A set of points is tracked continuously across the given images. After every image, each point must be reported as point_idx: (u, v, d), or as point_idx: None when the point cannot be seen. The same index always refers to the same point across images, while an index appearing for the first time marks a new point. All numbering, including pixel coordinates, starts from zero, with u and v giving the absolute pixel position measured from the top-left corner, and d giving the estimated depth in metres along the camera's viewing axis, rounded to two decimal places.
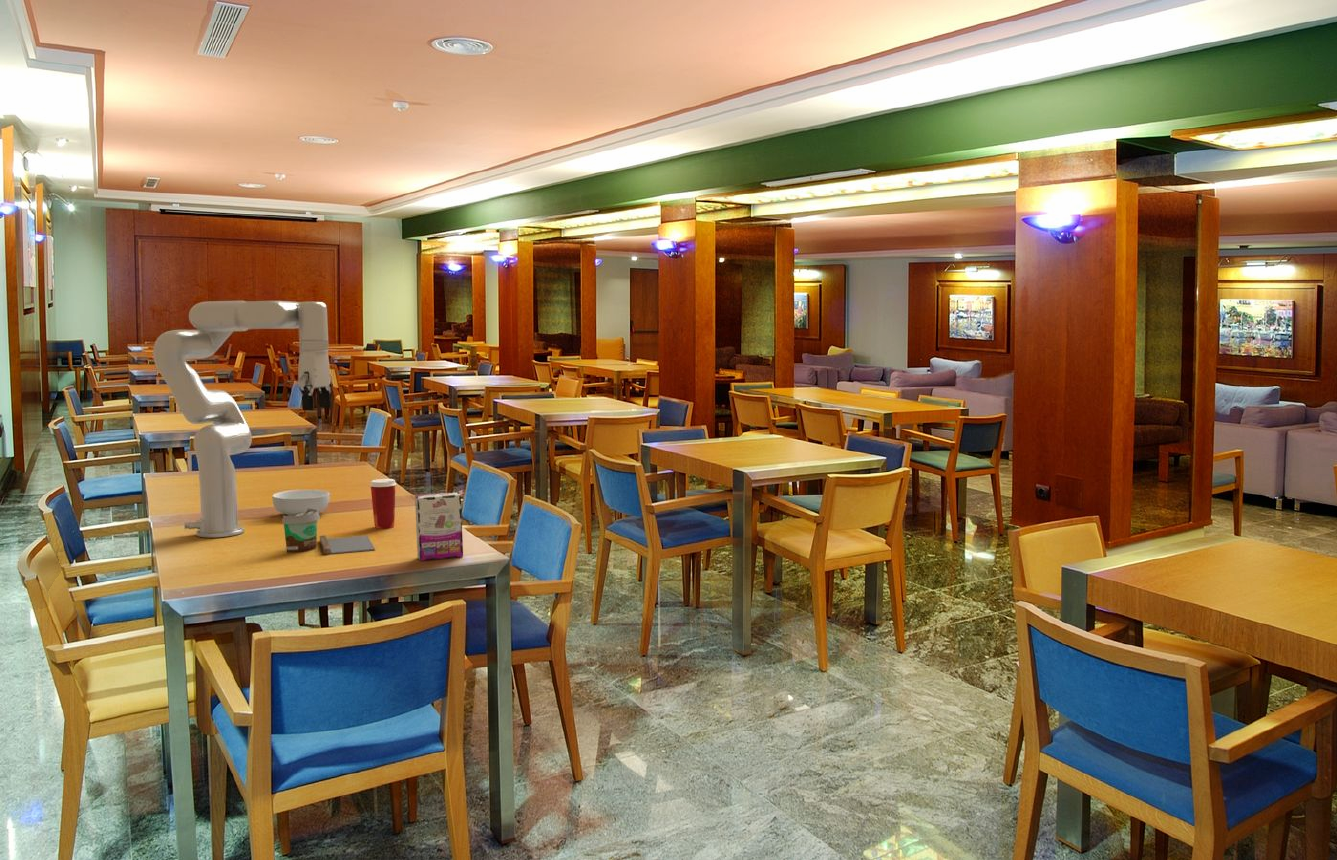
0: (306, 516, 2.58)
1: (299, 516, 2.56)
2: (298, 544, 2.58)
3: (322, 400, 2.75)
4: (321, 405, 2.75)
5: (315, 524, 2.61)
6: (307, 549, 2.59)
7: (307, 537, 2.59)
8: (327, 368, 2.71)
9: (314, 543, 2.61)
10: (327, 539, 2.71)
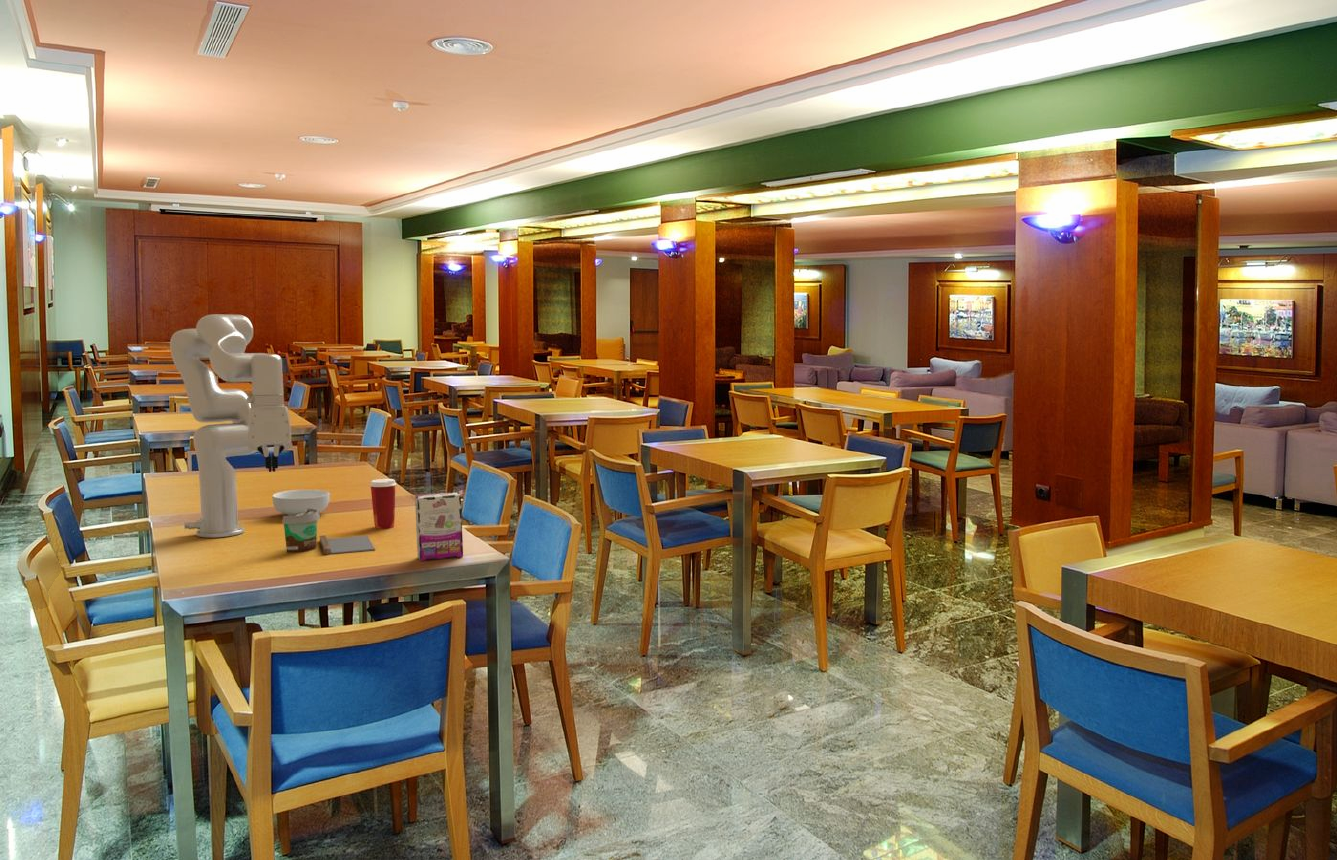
0: (306, 516, 2.58)
1: (299, 516, 2.56)
2: (298, 544, 2.58)
3: None
4: None
5: (315, 524, 2.61)
6: (307, 549, 2.59)
7: (307, 537, 2.59)
8: None
9: (314, 543, 2.61)
10: (327, 539, 2.71)
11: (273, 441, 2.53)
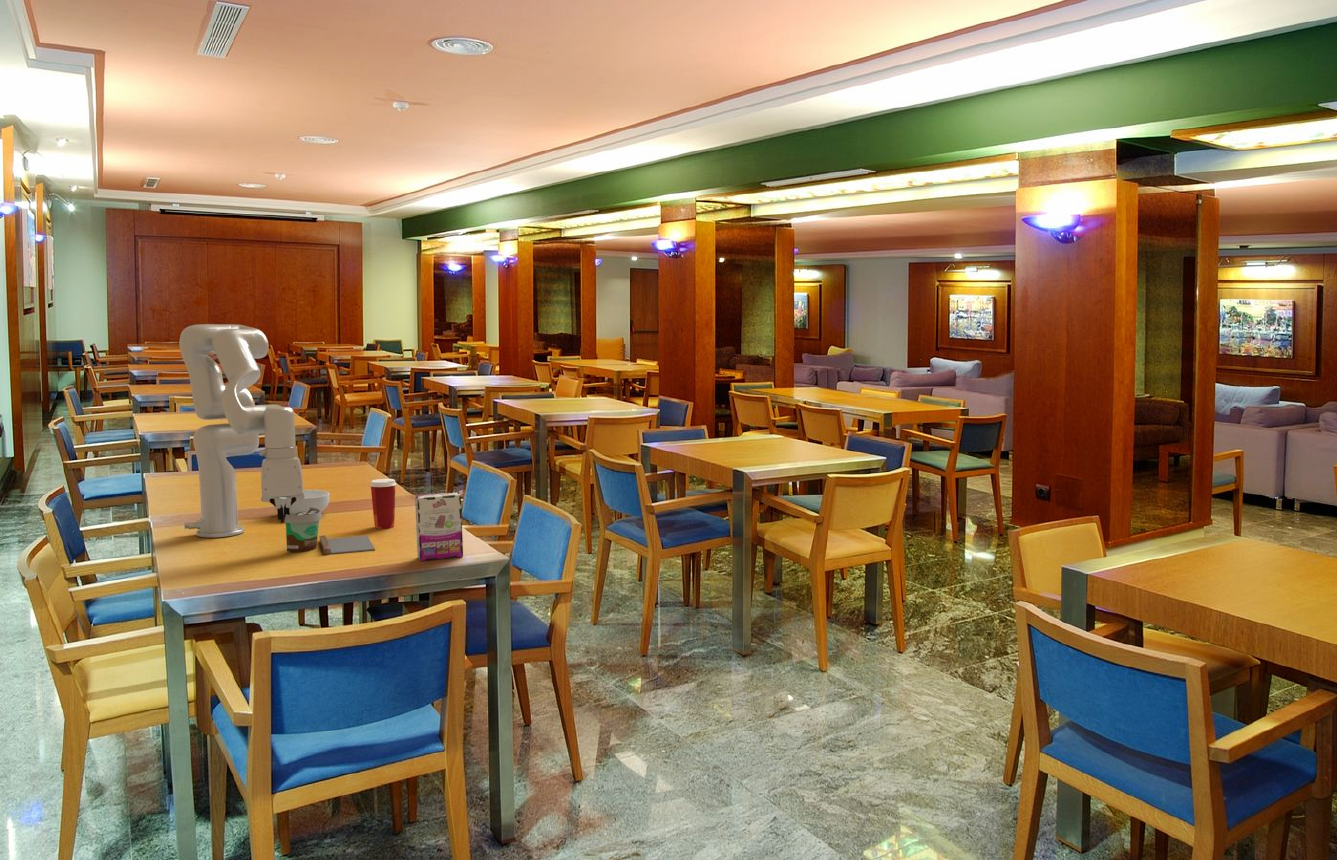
0: (308, 516, 2.57)
1: (302, 516, 2.56)
2: (299, 543, 2.58)
3: None
4: (283, 521, 2.58)
5: (317, 524, 2.61)
6: (307, 549, 2.59)
7: (308, 537, 2.59)
8: None
9: (314, 543, 2.61)
10: (327, 539, 2.71)
11: (285, 493, 2.55)
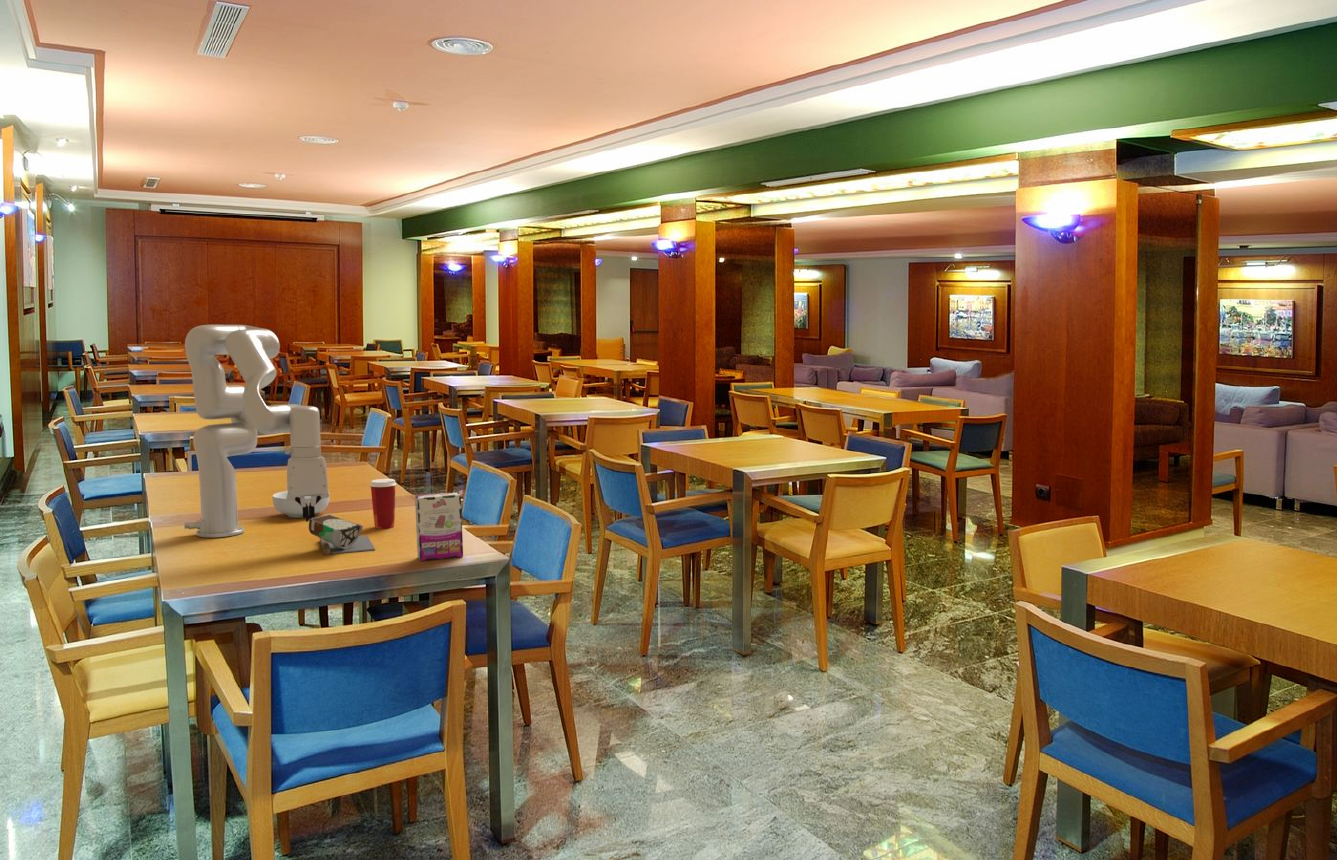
0: (340, 547, 2.57)
1: (339, 544, 2.55)
2: (315, 532, 2.57)
3: None
4: None
5: None
6: None
7: (322, 538, 2.58)
8: None
9: None
10: None
11: (310, 492, 2.58)
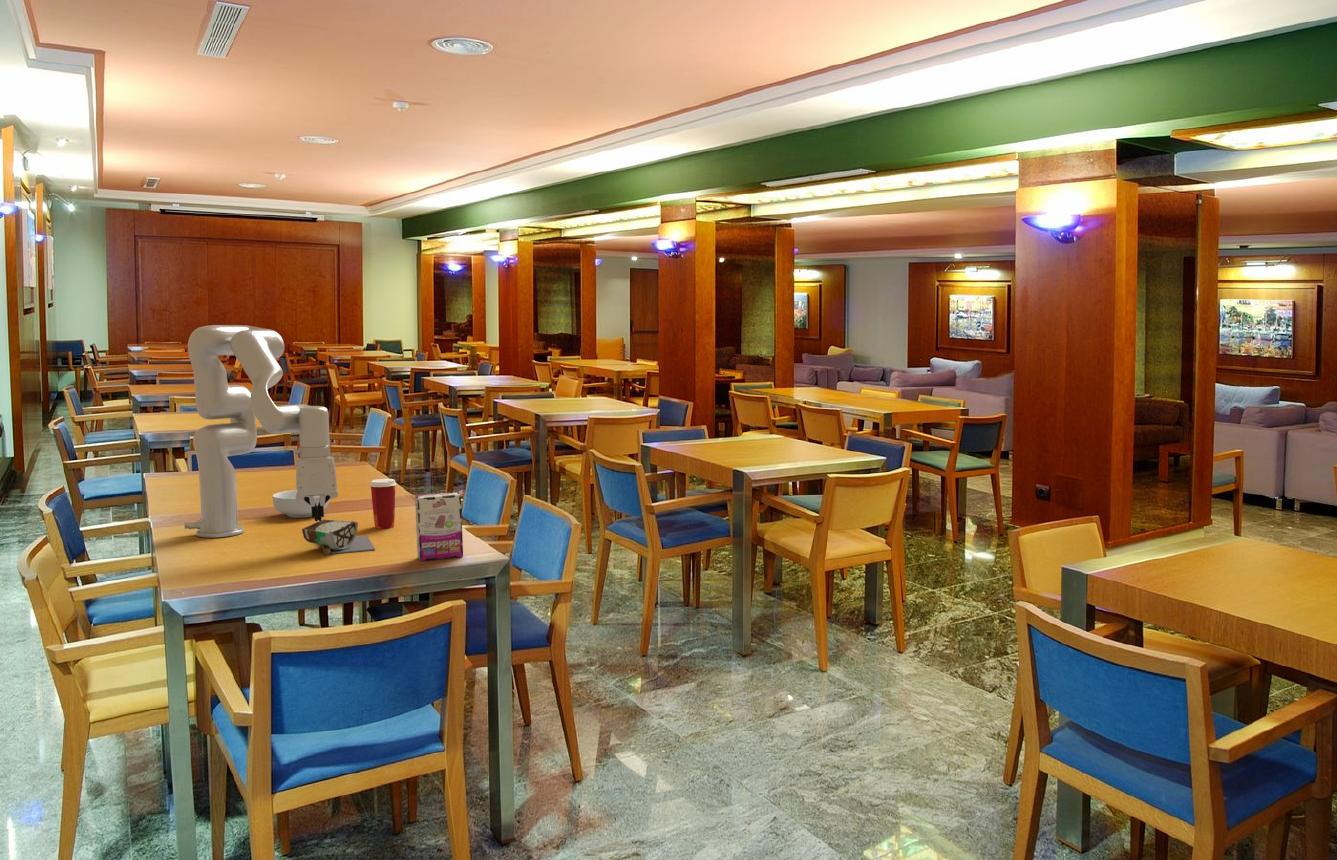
0: (338, 548, 2.57)
1: (336, 546, 2.55)
2: (311, 540, 2.57)
3: None
4: None
5: None
6: (310, 542, 2.60)
7: (320, 544, 2.59)
8: None
9: None
10: None
11: (320, 492, 2.59)
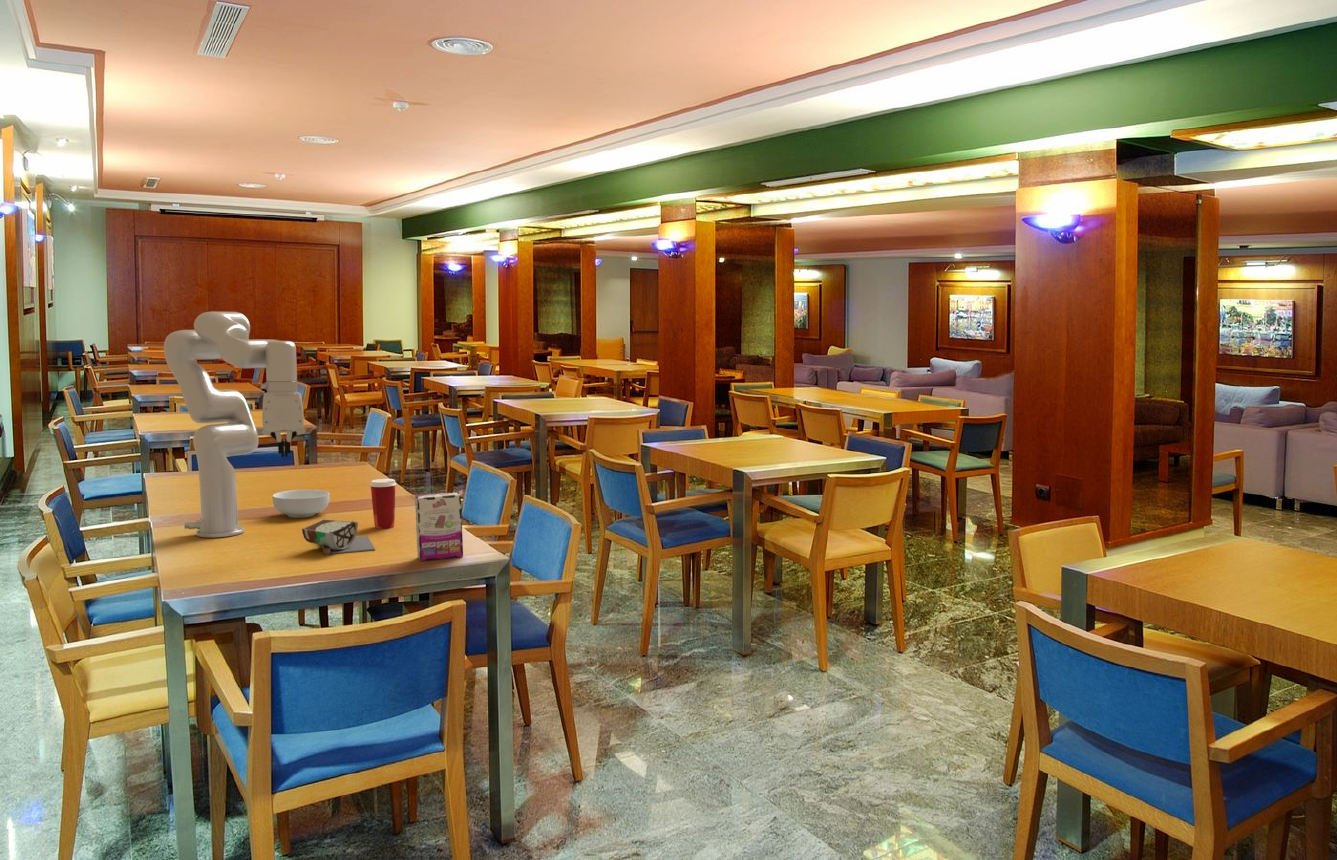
0: (338, 548, 2.57)
1: (336, 546, 2.55)
2: (311, 540, 2.57)
3: (283, 449, 2.59)
4: None
5: None
6: (310, 542, 2.60)
7: (320, 544, 2.59)
8: None
9: None
10: None
11: (286, 427, 2.57)
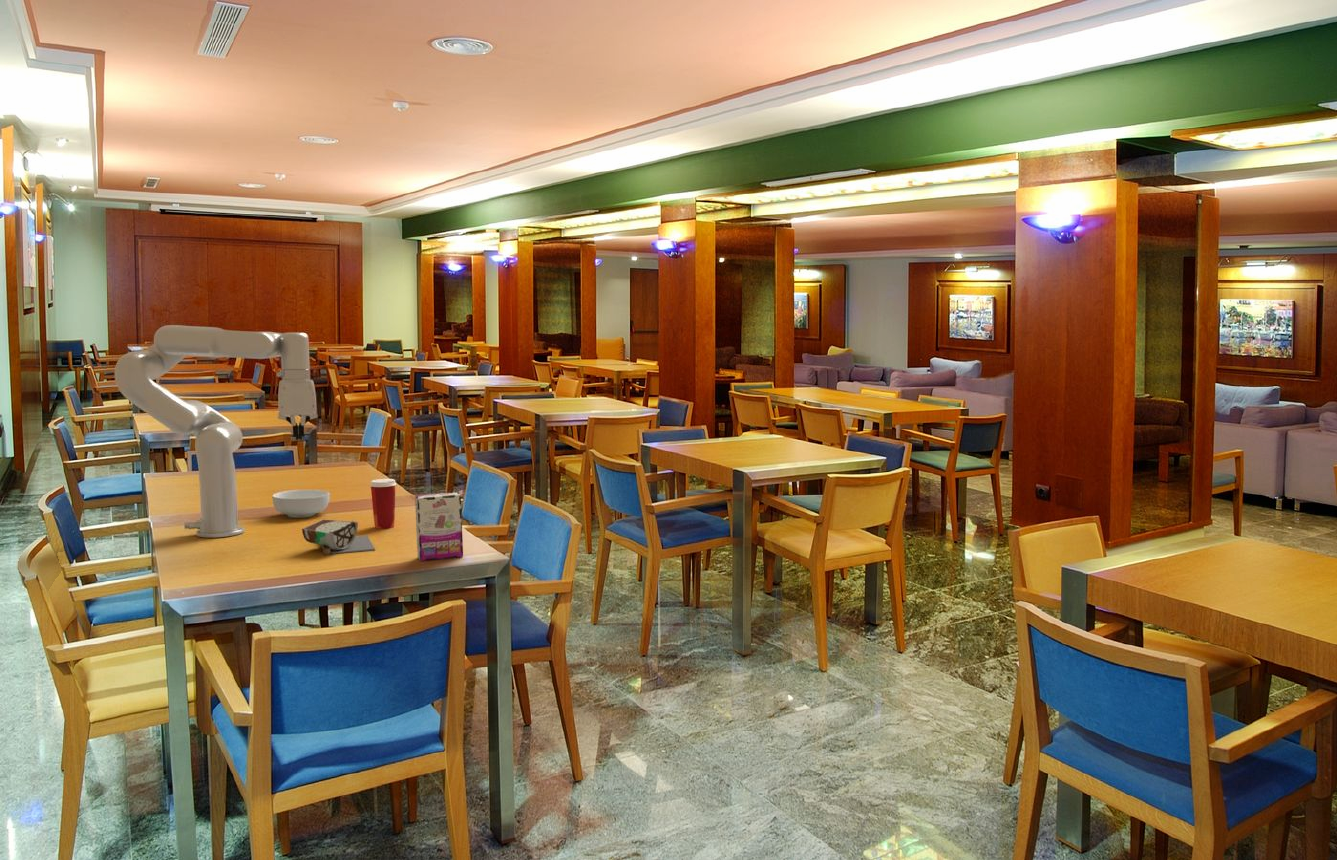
0: (338, 548, 2.57)
1: (336, 546, 2.55)
2: (311, 540, 2.57)
3: None
4: None
5: None
6: (310, 542, 2.60)
7: (320, 544, 2.59)
8: None
9: None
10: None
11: (300, 411, 2.78)
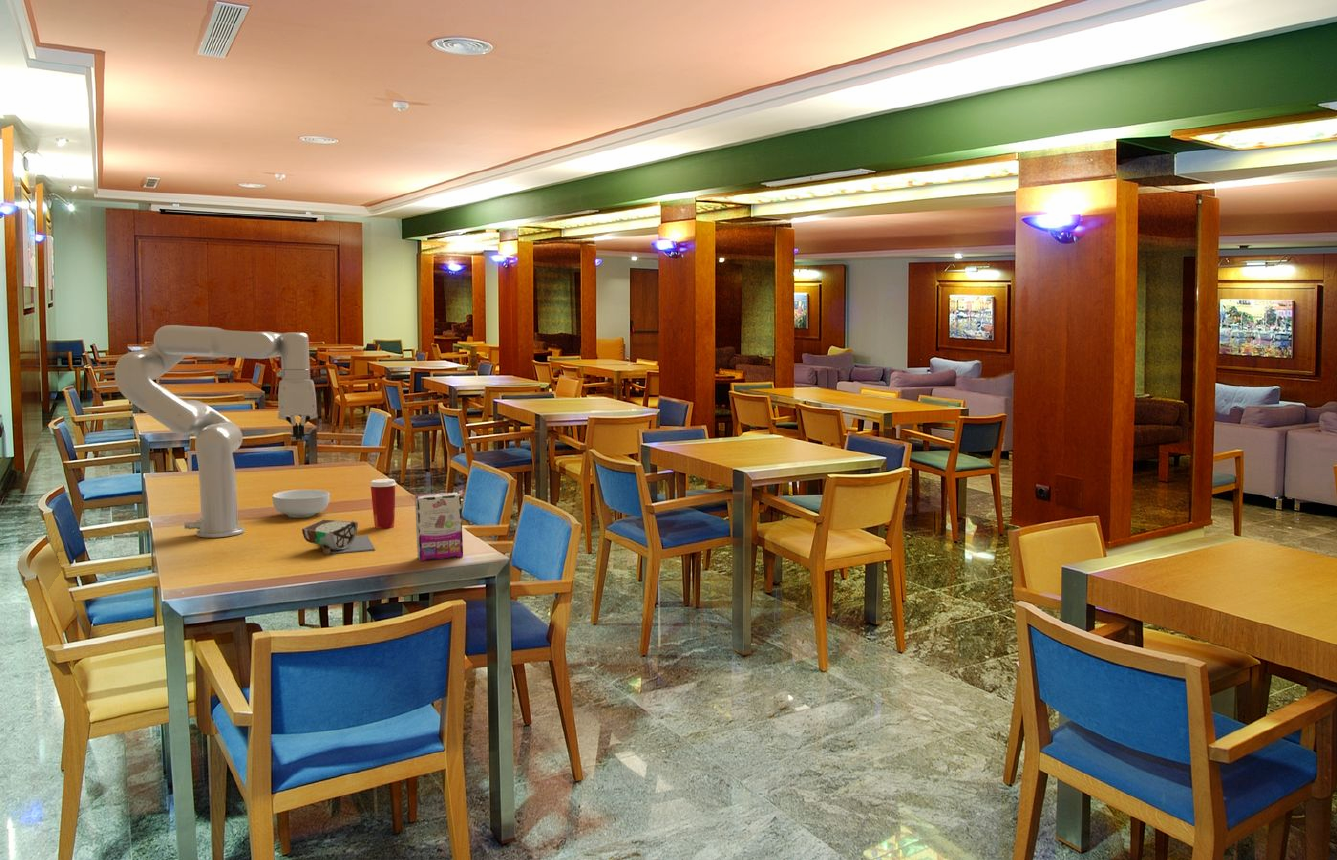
0: (338, 548, 2.57)
1: (336, 546, 2.55)
2: (311, 540, 2.57)
3: None
4: None
5: None
6: (310, 542, 2.60)
7: (320, 544, 2.59)
8: None
9: None
10: None
11: (300, 411, 2.78)
